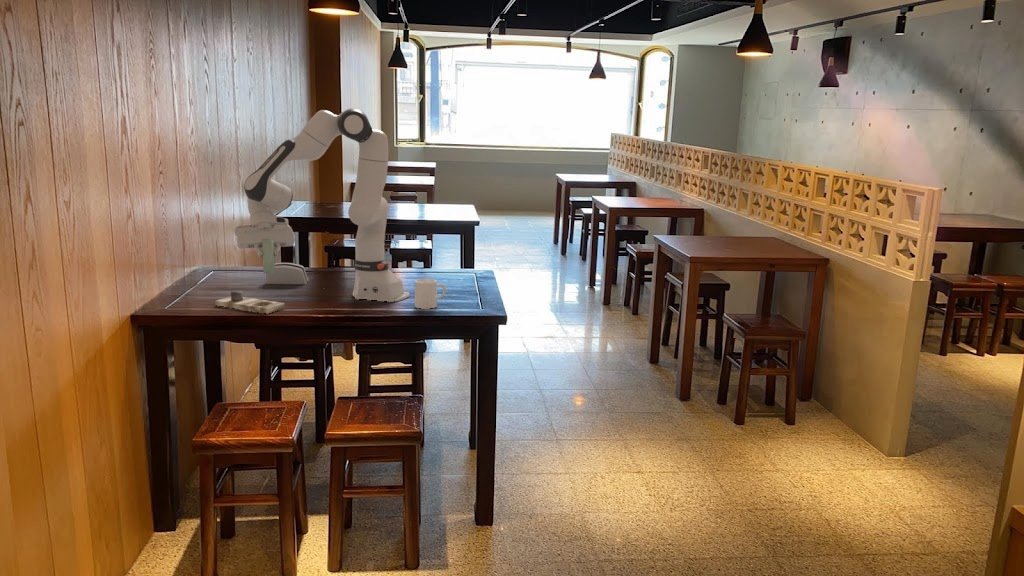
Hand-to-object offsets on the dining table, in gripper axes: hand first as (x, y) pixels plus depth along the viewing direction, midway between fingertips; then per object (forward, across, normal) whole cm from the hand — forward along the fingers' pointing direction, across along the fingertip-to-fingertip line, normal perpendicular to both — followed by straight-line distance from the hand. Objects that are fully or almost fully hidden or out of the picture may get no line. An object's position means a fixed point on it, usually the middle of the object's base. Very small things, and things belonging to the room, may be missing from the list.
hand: (268, 255), depth 268 cm
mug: (+30, +54, -4) cm, 62 cm away
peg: (+4, 0, +5) cm, 6 cm away
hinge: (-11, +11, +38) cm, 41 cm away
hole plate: (+14, -8, +12) cm, 20 cm away
